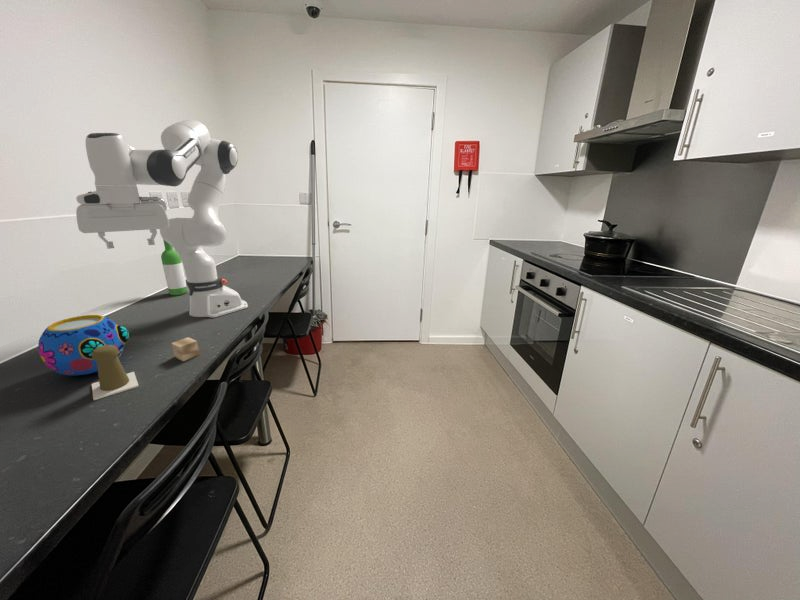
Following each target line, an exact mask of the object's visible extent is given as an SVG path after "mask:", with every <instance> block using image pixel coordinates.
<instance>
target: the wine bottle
mask: <svg viewBox="0 0 800 600" xmlns="http://www.w3.org/2000/svg"><path fill="white" fill-rule="evenodd" d="M162 240H163V244H164V250H163V251H162V253H161V255H160V256H161V257H160V258H161V264H162V267H163V272H164V276H165V281H166V285H167V290H168V293H169V295H171V296H174V297H175V296H182V295H185V294H188V291H187V287H186V281H187V279H186V275H185V270H184V266H183V263H182V261H181V259H180V257H179V255H178V254H177V252H176V251H175V249H174V248H173V247H172V246H171V245H170V244H169V243H167V242H166V241H165V240H164V239H163V238H162Z"/></svg>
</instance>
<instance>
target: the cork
mask: <svg viewBox="0 0 800 600" xmlns="http://www.w3.org/2000/svg"><path fill="white" fill-rule="evenodd" d="M118 354H119V351H118V349H117V347H116V346H114V345H104V346H100V347H98V348H96V349H94V350H93V352H92V358H93V359H94V361H96V362H97V368H98V372H97V376H98V382H99V384H100V389H101V390H103V391H108V390H114V389H117V388H120V387H122V386H124V385H126V384H127V383H128V382H129V378H128V376H127V372H126V371H125V368H124V367H123V365H122V363H121V361H120V358H119V359H118V357H117V356H118Z"/></svg>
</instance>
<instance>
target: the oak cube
mask: <svg viewBox="0 0 800 600" xmlns="http://www.w3.org/2000/svg"><path fill="white" fill-rule="evenodd" d="M171 347H172V353H173V355H174V358H175V359H178V360H180V361H181V362H185V361H188V360H190V359H192V358H195V357H197V356H200V355H201V354H200V349H199V345H198V340H195V339H193V338H191V337H189V336H188V337H185V338H182V339H180V340H176V341H173V342H171Z"/></svg>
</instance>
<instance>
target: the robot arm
mask: <svg viewBox="0 0 800 600" xmlns="http://www.w3.org/2000/svg"><path fill="white" fill-rule="evenodd" d="M160 141H161V145H162V147H163V149H137V148H135V147H133V146H131V145H130V144H128V143H127V142H126V141H125V140H124V138H123V136H122V135H121V134H119V133H115V132H93V133H89V134H87V135H86V137H85V150H86V156H87V160H88V165H89V168H90V170H91V171H92V173H93V175H94V187H95V190H93V191H88V192H85V193H83V194H78V195H76V198H75V199H76V201H77V203H78V204H79V205H78V206H77V207H76V210H75V215H76V222H77V223H76V224H77V228H78V231H80V232H81V233H83V234H95V233H96V234H97V235H98V237H99V238H100V239H101V240H102V241H103V242H104V243H105V244H106V249H109V250H110V249H115V246H114V242H113V241H108V239H107V238H106V234H105V233H113V232H129V231H130V232H131V231H132V232H133V231H145V230H146V231H149V232H150V234H151V236H150V238H147V239H146V240H147V243H148V246H155V245H156V243H155V239H156V236H157V235H158V231H157V230H159V234H160V236H161V238H162V240H163V239H164V240H165V241H166V242H167V243H169V244H170V245H171V246H172V247H173V249H174V250H175V251H176V252H177V254H178V255H179V257H180V259H181V262H182V266H183V271H184V275H185V280H186V287H187V294H188V298H189V313H188V315H189V316H191V317H192V318H193V317H194V318H217V317H220V316H224V315H228V314H231V313H234V312H239V311H241V310H245V309H247V308H248V307H249V305H248V302H247V301H245V300H244V299H242V298H241V295H240V294H239V293H238V292H237V291H236V290H234V289H232V288H231V287H228V286H227V285H228V284H227V283H228V281H227V279H225V278H221V277H220V276H219V277H218V272H217V265H216V262H215V260H214V258H213V257H212V256H211V255H209V254H207V252H206V251H205V250H204V249H203V248H212V247H218V246H222V245H223V244H225V241H226V240H227V236H228V235H227V234H228V232H227V230H226V227H225V226H224V224H223V223H222V222H221V221H220V217H219V213H220V212H219V210H220V207H221V203H222V200H223V196H224V193H225V190H226V185H227V184H226V183H227V181H226V180H227V178H226V177H227V176H226V175H229V174H230V173H231V171H233V170H234V169H235V168H236V166H237V164H238V161H239V156H238V155H239V154H238V151H237V149H236V147H235V145H234V144H232V143H231V142H229V141H225V140H219V139H217V138H213V137H211V135H210V131H209V130H208V128H207V126H205V125H204V124H203V123H202V122H200V121H198V120H195V119H185V120H181V121H178V122H175V123H172V124H170V125H168V126H167V127H165V128H164V129H163V131H162V132H161V135H160ZM194 165H196V166H200V170H199V172H198V173H197V176H195V178H194V181H193V183H192V187H191V189H190V193H189V195H188V197H187V204H188V206H189V207H190V209H191V210H193V215H192V216H191V217H174V218H169V217H168V215H167V213H166V212H167V203H166V201H165V200H164V199H162V198H161V197H158V196H140V193H139V189H138V186H137V185H145V186H146V185H148V186H167V187H178V186H180V185H181V184H183V182H184V180H185V179H186V176H187V173H188V172H189V171H190V169H191V168H193V166H194Z"/></svg>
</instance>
